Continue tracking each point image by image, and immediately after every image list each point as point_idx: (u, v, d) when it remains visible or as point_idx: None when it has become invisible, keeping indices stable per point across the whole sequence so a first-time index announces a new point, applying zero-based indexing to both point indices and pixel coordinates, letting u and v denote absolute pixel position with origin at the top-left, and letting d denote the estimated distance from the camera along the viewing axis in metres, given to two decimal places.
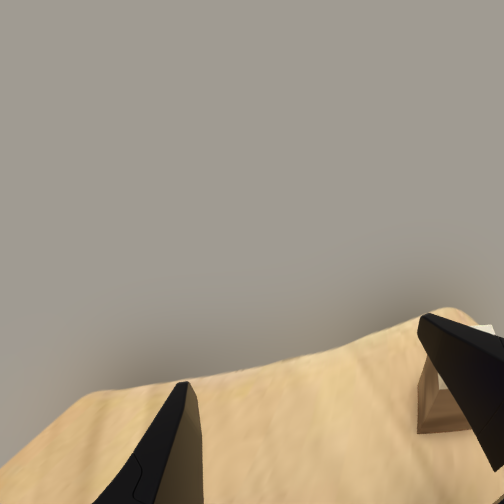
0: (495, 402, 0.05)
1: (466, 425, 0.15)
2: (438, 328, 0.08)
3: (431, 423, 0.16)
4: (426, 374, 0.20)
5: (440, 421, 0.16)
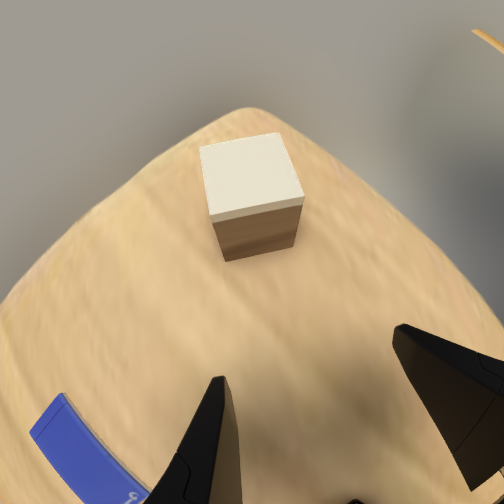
0: (470, 421, 0.05)
1: (280, 245, 0.24)
2: (412, 340, 0.08)
3: (233, 251, 0.23)
4: None
5: (242, 247, 0.22)
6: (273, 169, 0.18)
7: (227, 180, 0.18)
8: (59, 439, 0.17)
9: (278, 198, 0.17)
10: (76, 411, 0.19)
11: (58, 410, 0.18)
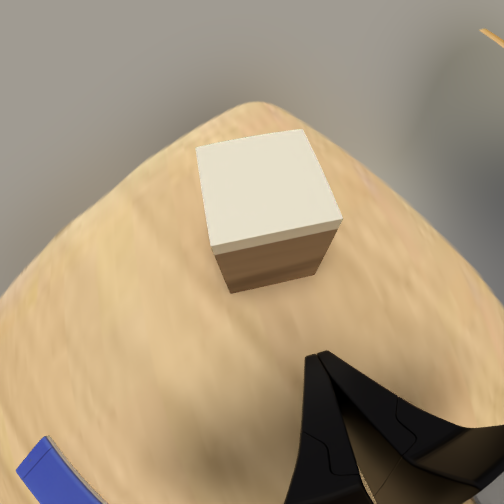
0: (385, 471, 0.05)
1: (299, 273, 0.19)
2: (327, 372, 0.08)
3: (241, 283, 0.18)
4: None
5: (253, 279, 0.17)
6: (298, 179, 0.13)
7: (235, 194, 0.13)
8: (48, 484, 0.12)
9: (307, 222, 0.12)
10: (63, 457, 0.14)
11: (43, 454, 0.13)
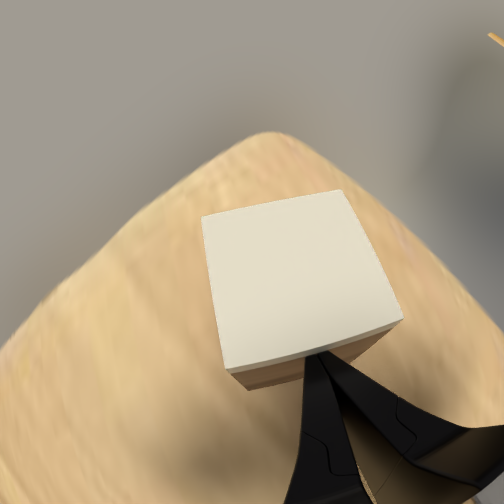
0: (385, 471, 0.05)
1: None
2: (327, 372, 0.08)
3: (262, 384, 0.13)
4: None
5: (277, 379, 0.13)
6: (344, 264, 0.10)
7: (258, 290, 0.09)
8: None
9: (360, 328, 0.08)
10: None
11: None
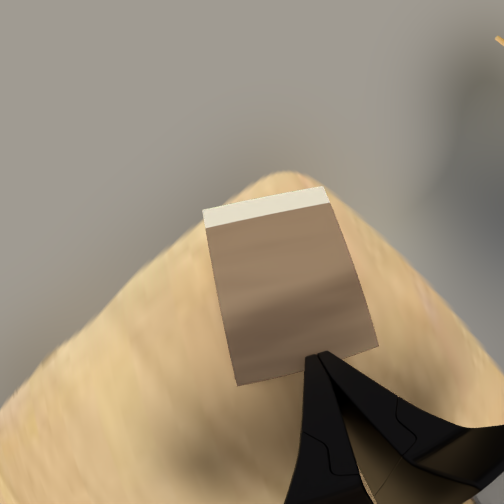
0: (385, 471, 0.05)
1: (346, 331, 0.11)
2: (327, 372, 0.08)
3: (248, 336, 0.11)
4: None
5: (266, 324, 0.11)
6: None
7: None
8: None
9: None
10: None
11: None
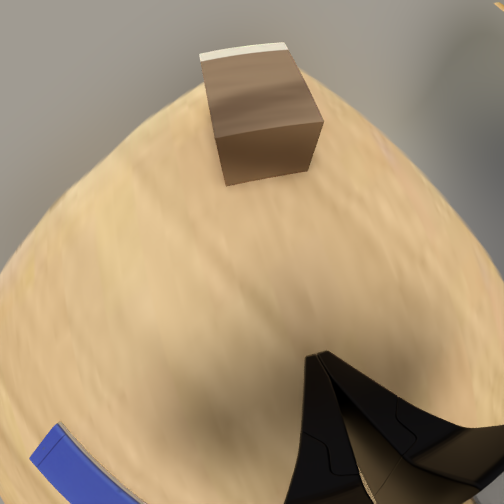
0: (385, 471, 0.05)
1: (297, 109, 0.14)
2: (327, 372, 0.08)
3: (225, 109, 0.14)
4: None
5: (238, 103, 0.14)
6: None
7: None
8: (63, 470, 0.14)
9: None
10: (76, 443, 0.15)
11: (57, 442, 0.14)
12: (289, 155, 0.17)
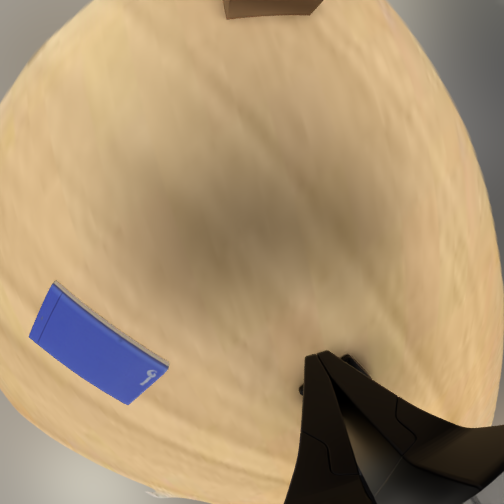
0: (385, 471, 0.05)
1: None
2: (327, 372, 0.08)
3: None
4: None
5: None
6: None
7: None
8: (64, 335, 0.20)
9: None
10: (74, 298, 0.19)
11: (54, 305, 0.19)
12: None
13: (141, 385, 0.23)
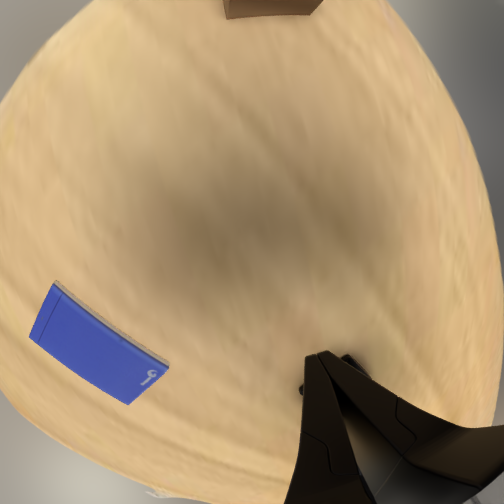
0: (385, 471, 0.05)
1: None
2: (327, 372, 0.08)
3: None
4: None
5: None
6: None
7: None
8: (64, 336, 0.20)
9: None
10: (74, 299, 0.19)
11: (55, 305, 0.19)
12: None
13: (141, 385, 0.23)
